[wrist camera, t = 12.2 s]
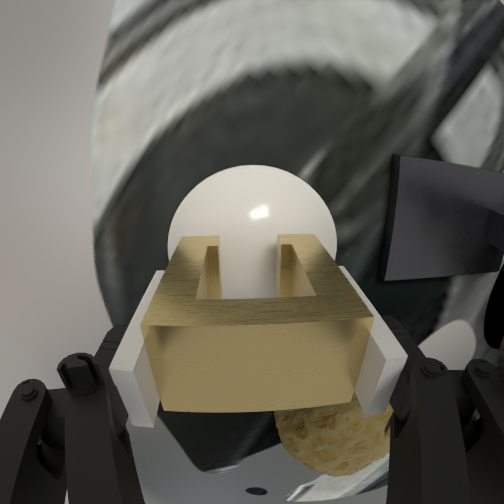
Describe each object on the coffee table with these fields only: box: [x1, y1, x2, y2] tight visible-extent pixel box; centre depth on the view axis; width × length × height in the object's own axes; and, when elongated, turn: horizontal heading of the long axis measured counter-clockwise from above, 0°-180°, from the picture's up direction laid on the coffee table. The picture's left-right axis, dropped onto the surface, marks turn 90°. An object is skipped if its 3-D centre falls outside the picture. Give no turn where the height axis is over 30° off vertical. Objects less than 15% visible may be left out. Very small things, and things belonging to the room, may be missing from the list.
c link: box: [140, 234, 374, 412], centre depth 13 cm, size 7×4×8 cm, turn 90°
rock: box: [274, 391, 393, 476], centre depth 21 cm, size 10×11×10 cm
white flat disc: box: [168, 164, 337, 299], centre depth 18 cm, size 10×10×1 cm
